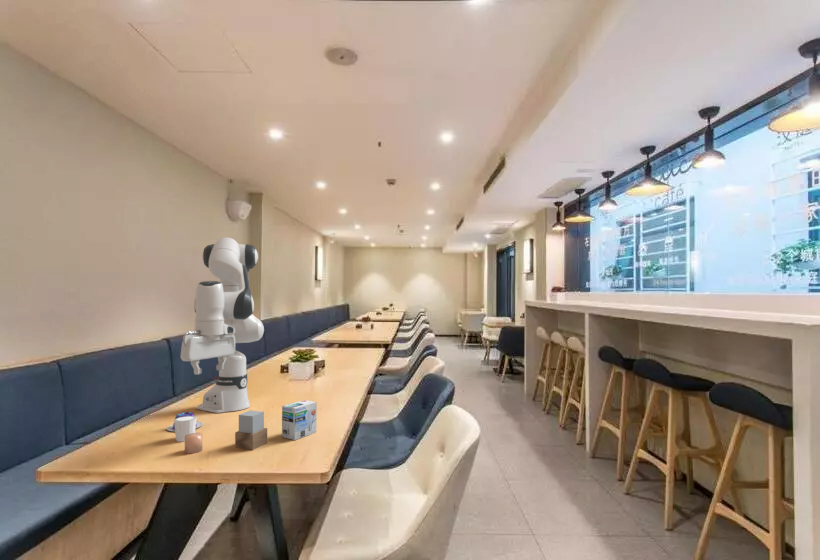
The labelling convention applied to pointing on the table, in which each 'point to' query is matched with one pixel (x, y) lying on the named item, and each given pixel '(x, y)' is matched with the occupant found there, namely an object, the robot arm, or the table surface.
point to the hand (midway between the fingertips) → (209, 372)
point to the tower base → (250, 439)
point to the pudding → (183, 416)
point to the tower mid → (251, 421)
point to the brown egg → (193, 443)
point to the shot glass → (184, 427)
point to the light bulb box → (299, 419)
